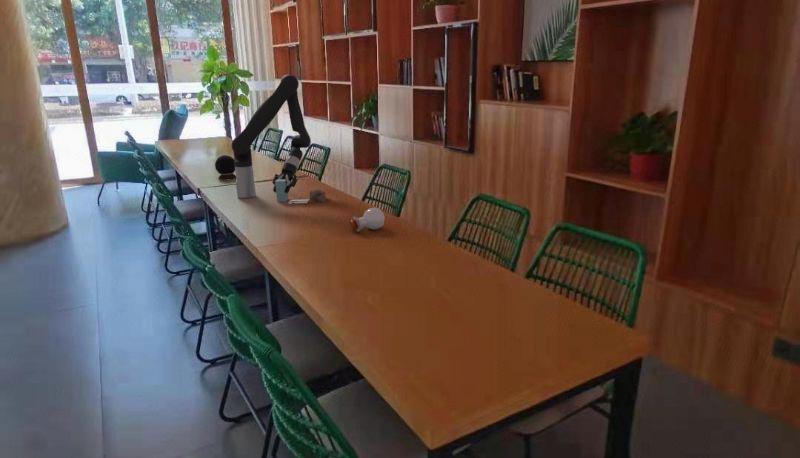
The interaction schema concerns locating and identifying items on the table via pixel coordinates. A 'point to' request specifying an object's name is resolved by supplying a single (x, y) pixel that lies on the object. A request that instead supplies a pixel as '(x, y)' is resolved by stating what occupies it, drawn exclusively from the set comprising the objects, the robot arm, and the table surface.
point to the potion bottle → (368, 220)
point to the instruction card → (298, 201)
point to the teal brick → (281, 190)
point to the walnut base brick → (317, 195)
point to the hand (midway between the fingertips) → (280, 192)
